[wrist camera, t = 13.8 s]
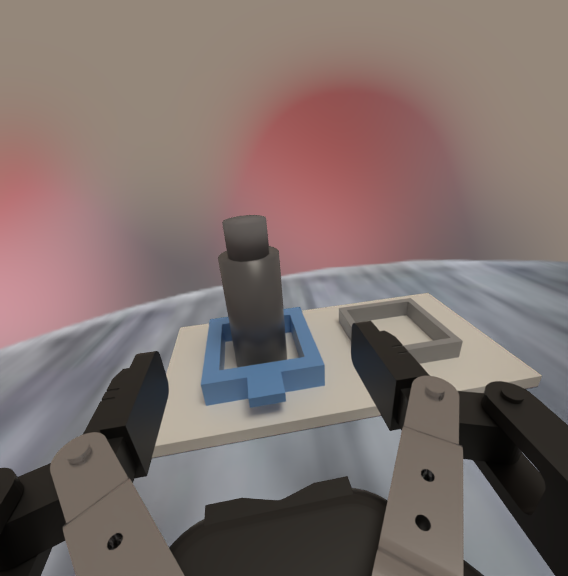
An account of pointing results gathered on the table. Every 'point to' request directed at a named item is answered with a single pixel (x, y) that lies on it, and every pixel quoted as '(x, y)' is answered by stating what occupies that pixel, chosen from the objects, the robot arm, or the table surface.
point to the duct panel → (316, 371)
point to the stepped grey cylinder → (253, 291)
